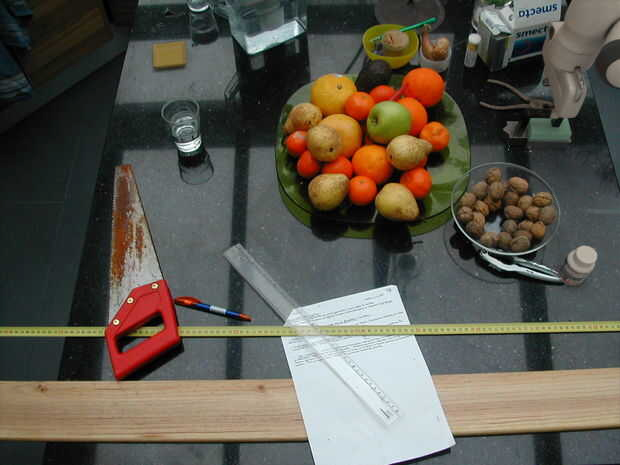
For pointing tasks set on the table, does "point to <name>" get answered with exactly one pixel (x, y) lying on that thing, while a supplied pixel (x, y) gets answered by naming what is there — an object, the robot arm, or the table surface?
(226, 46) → the table surface
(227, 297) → the table surface
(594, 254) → the pill bottle
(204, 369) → the table surface
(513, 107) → the pliers
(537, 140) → the iron
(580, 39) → the robot arm
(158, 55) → the yellow kitchen sponge
